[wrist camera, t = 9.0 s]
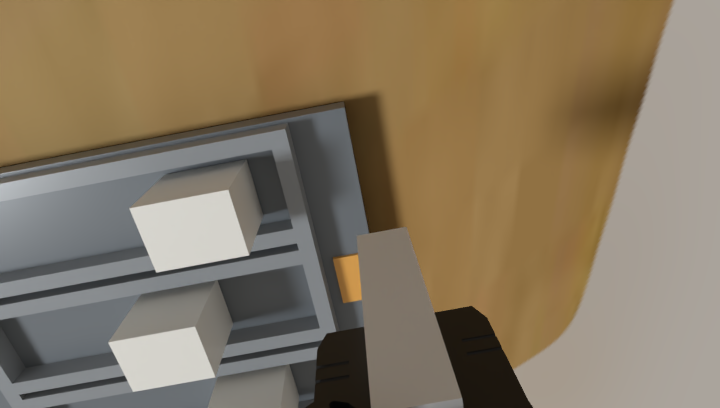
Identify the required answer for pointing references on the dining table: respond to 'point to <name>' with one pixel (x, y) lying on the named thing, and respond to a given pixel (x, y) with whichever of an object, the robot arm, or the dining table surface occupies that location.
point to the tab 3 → (256, 389)
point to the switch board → (138, 276)
